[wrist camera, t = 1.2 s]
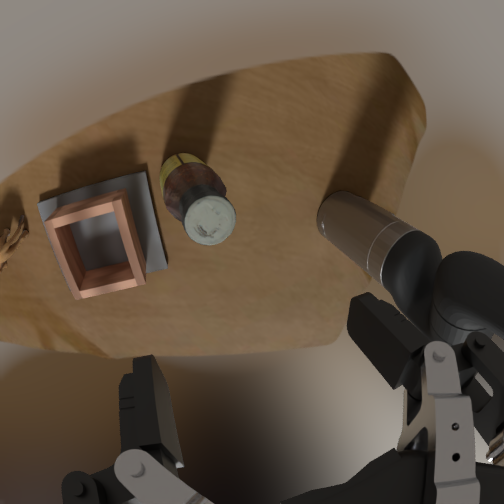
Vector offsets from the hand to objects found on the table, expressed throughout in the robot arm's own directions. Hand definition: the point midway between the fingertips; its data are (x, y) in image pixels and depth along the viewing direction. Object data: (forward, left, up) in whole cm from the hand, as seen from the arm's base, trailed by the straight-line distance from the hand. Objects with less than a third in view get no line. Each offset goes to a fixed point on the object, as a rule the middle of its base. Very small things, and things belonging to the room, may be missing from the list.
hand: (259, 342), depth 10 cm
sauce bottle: (0, 0, -32) cm, 32 cm away
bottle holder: (+14, +6, -32) cm, 35 cm away
